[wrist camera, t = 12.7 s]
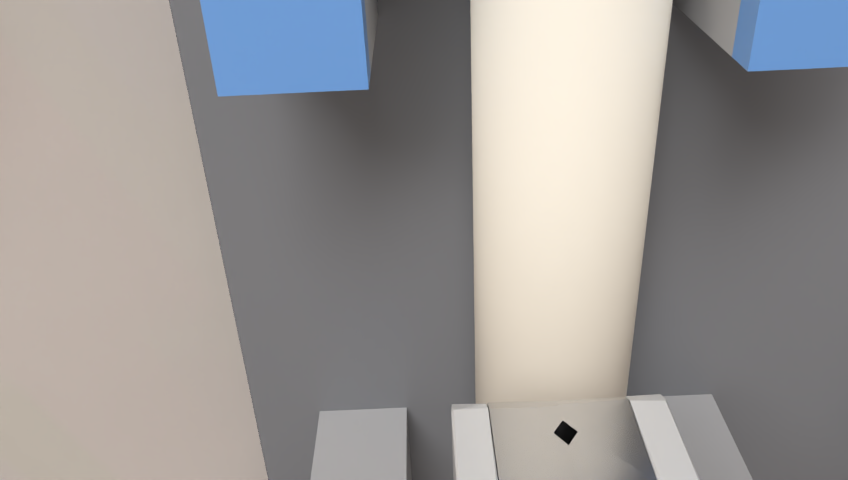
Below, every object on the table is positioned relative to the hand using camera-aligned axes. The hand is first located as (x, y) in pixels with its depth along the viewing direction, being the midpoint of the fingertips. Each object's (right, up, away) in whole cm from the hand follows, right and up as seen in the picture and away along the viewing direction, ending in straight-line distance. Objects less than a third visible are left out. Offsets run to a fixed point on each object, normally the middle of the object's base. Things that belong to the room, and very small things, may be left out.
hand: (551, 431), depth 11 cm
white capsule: (+1, +2, +3) cm, 4 cm away
